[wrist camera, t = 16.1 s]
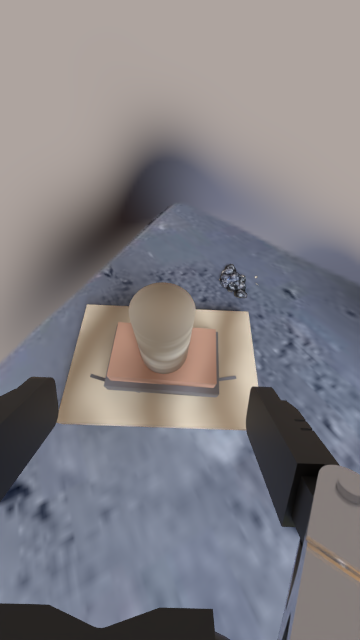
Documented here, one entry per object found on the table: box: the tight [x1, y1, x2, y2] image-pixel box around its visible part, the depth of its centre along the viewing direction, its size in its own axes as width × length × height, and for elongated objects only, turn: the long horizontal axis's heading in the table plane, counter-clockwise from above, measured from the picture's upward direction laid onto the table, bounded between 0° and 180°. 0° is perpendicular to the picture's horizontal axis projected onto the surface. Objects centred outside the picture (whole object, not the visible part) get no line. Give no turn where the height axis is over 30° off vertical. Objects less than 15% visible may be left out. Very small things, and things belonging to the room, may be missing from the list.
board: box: [56, 304, 258, 430], centre depth 23 cm, size 18×12×2 cm, turn 88°
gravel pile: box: [219, 264, 257, 298], centre depth 29 cm, size 7×8×2 cm
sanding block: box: [104, 283, 219, 397], centre depth 18 cm, size 10×6×10 cm, turn 86°
